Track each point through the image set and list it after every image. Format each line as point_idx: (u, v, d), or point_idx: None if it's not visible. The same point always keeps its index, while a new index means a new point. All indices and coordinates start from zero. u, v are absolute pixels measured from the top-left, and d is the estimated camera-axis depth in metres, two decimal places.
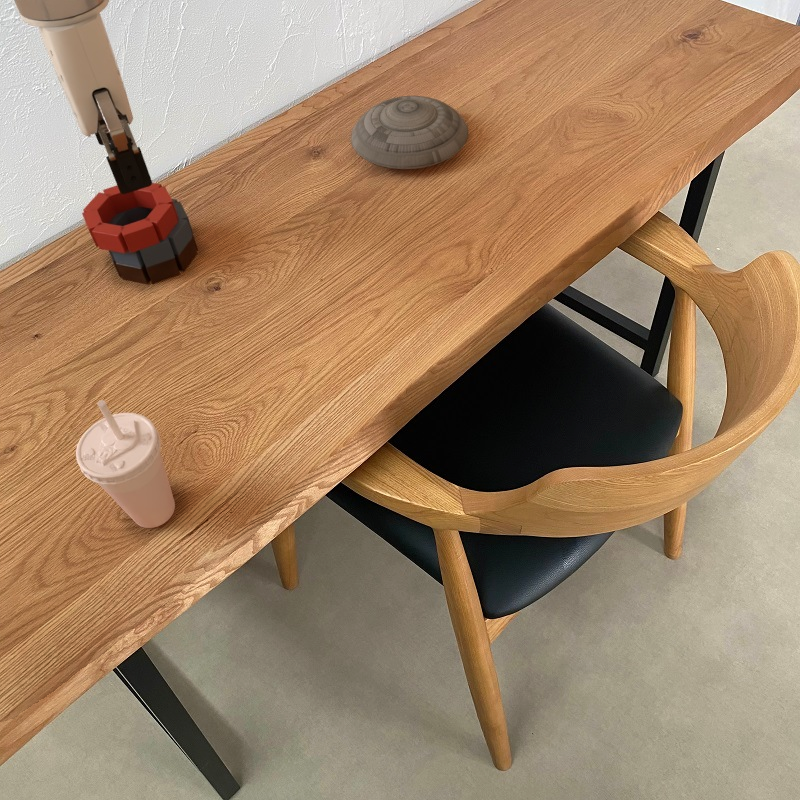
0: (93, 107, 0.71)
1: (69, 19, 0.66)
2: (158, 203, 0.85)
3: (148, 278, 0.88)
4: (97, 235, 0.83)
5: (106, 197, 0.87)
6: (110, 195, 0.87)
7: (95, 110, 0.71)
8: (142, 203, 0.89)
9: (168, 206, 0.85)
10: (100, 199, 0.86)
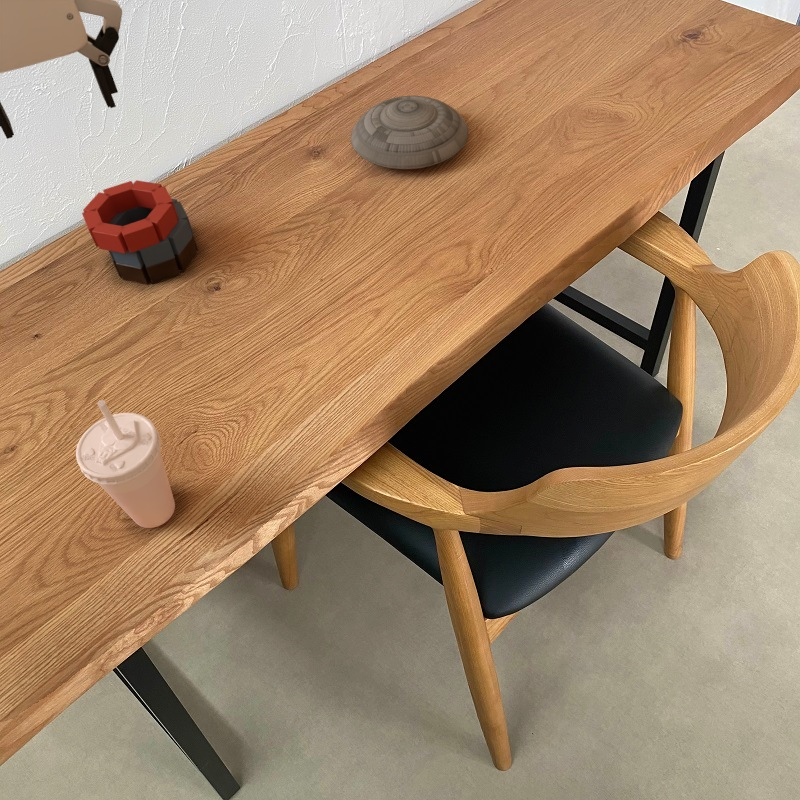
0: None
1: None
2: (158, 203, 0.85)
3: (148, 278, 0.88)
4: (97, 235, 0.83)
5: (106, 197, 0.87)
6: (110, 195, 0.87)
7: None
8: (142, 203, 0.89)
9: (168, 206, 0.85)
10: (100, 199, 0.86)
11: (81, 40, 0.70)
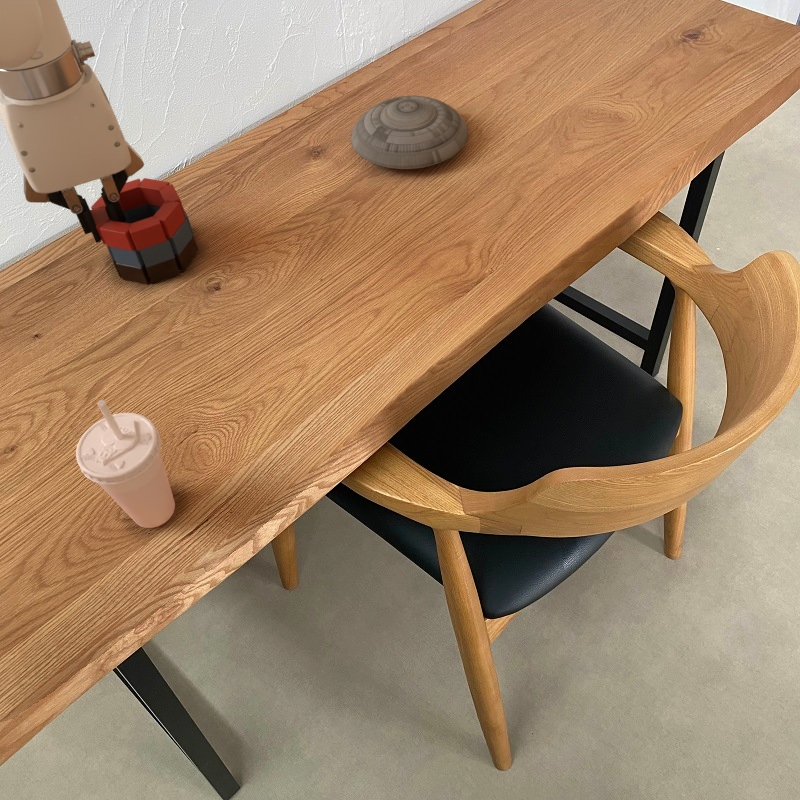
0: None
1: None
2: (165, 201, 0.85)
3: (148, 278, 0.88)
4: (104, 232, 0.83)
5: None
6: None
7: None
8: (150, 201, 0.89)
9: (175, 204, 0.85)
10: None
11: (126, 162, 0.80)
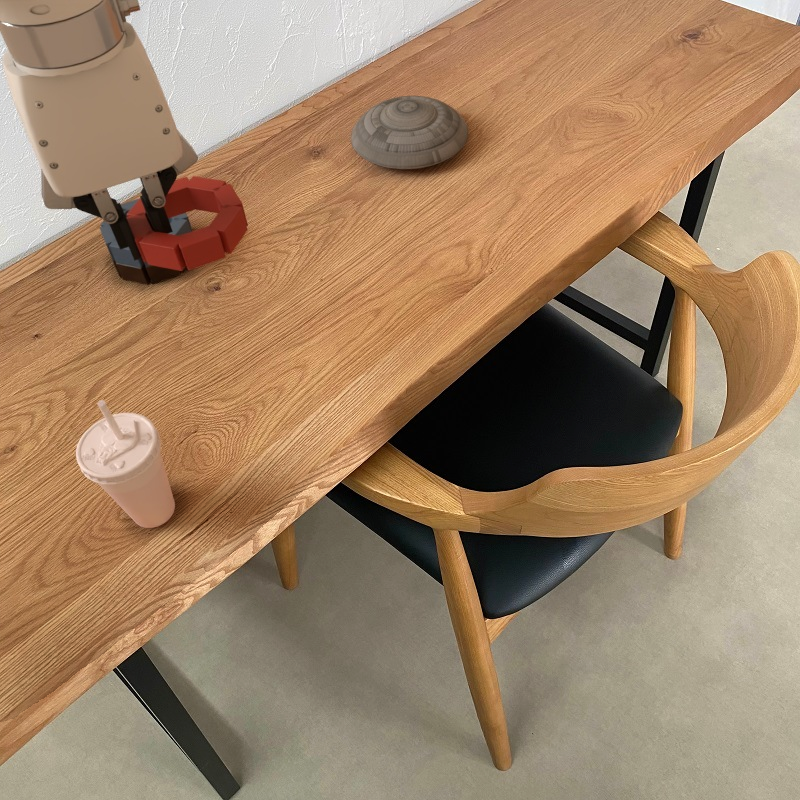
0: None
1: None
2: (224, 206, 0.66)
3: (148, 278, 0.88)
4: (146, 247, 0.64)
5: None
6: None
7: None
8: (200, 205, 0.69)
9: (237, 210, 0.66)
10: None
11: (176, 155, 0.60)
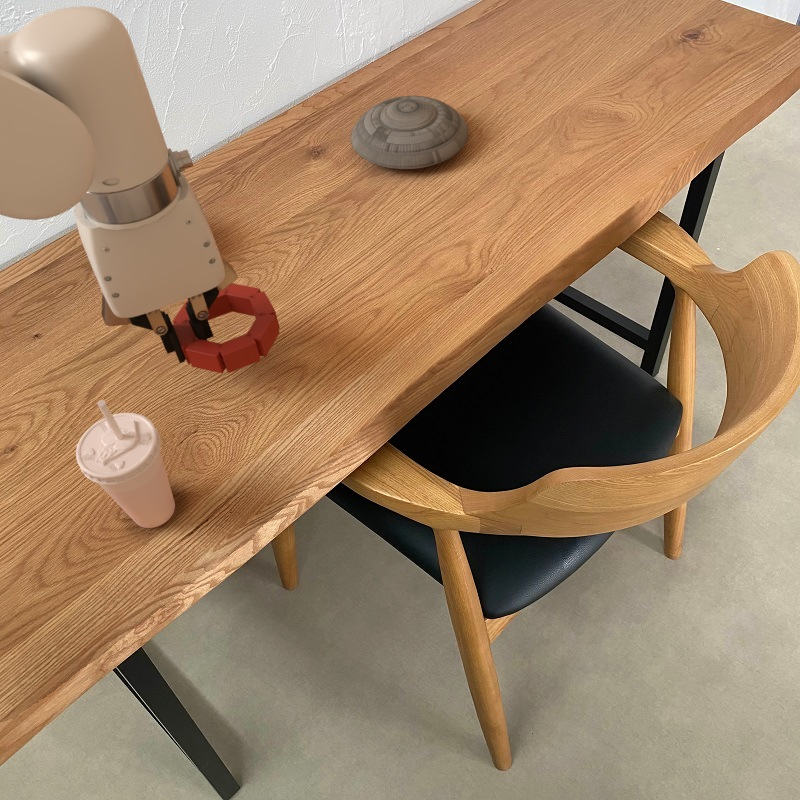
0: None
1: None
2: (259, 314, 0.74)
3: None
4: (191, 354, 0.72)
5: None
6: None
7: None
8: (237, 309, 0.78)
9: (271, 318, 0.74)
10: None
11: (220, 278, 0.68)
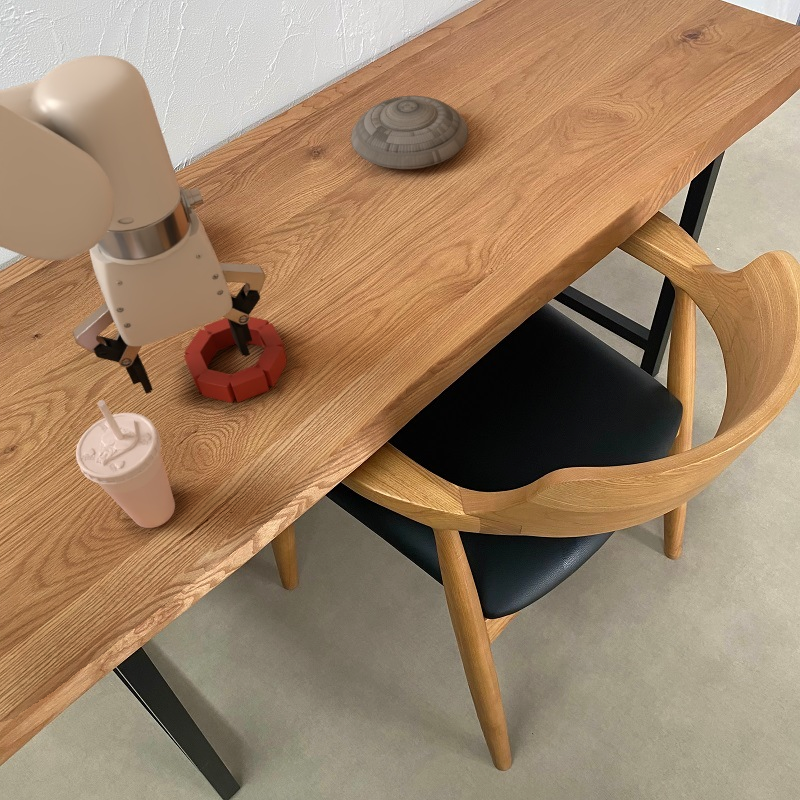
0: None
1: None
2: (267, 345, 0.78)
3: None
4: (202, 384, 0.75)
5: (208, 336, 0.79)
6: (213, 333, 0.79)
7: None
8: None
9: (279, 350, 0.77)
10: (202, 338, 0.79)
11: (227, 309, 0.71)
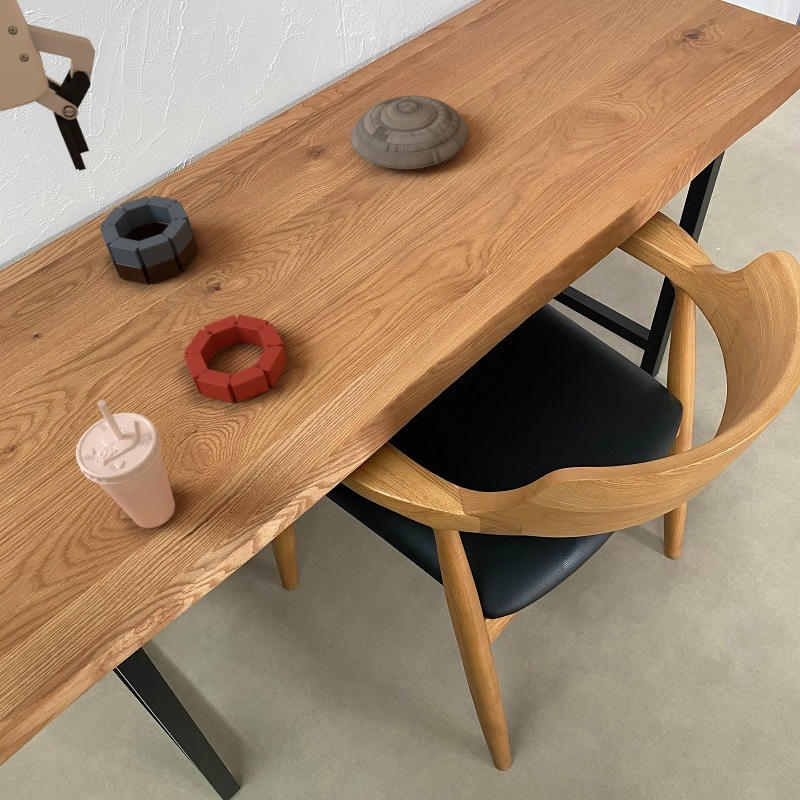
0: None
1: None
2: (267, 345, 0.78)
3: (148, 278, 0.88)
4: (202, 384, 0.75)
5: (208, 336, 0.79)
6: (213, 333, 0.79)
7: None
8: (245, 339, 0.81)
9: (279, 350, 0.77)
10: (202, 338, 0.79)
11: (40, 88, 0.54)
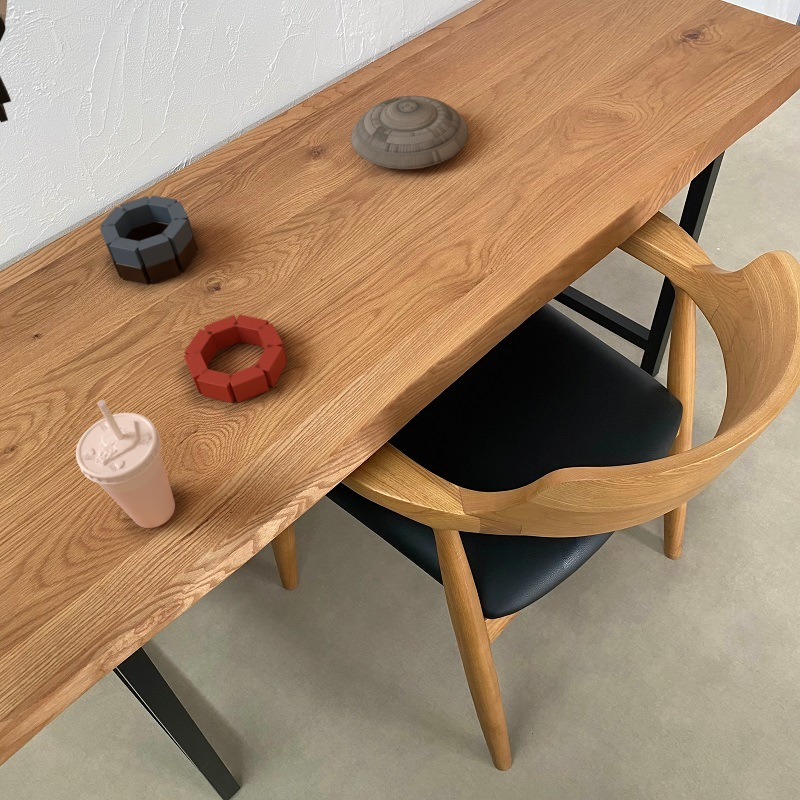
0: None
1: None
2: (267, 345, 0.78)
3: (148, 278, 0.88)
4: (202, 384, 0.75)
5: (208, 336, 0.79)
6: (213, 333, 0.79)
7: None
8: (245, 339, 0.81)
9: (279, 350, 0.77)
10: (202, 338, 0.79)
11: None
